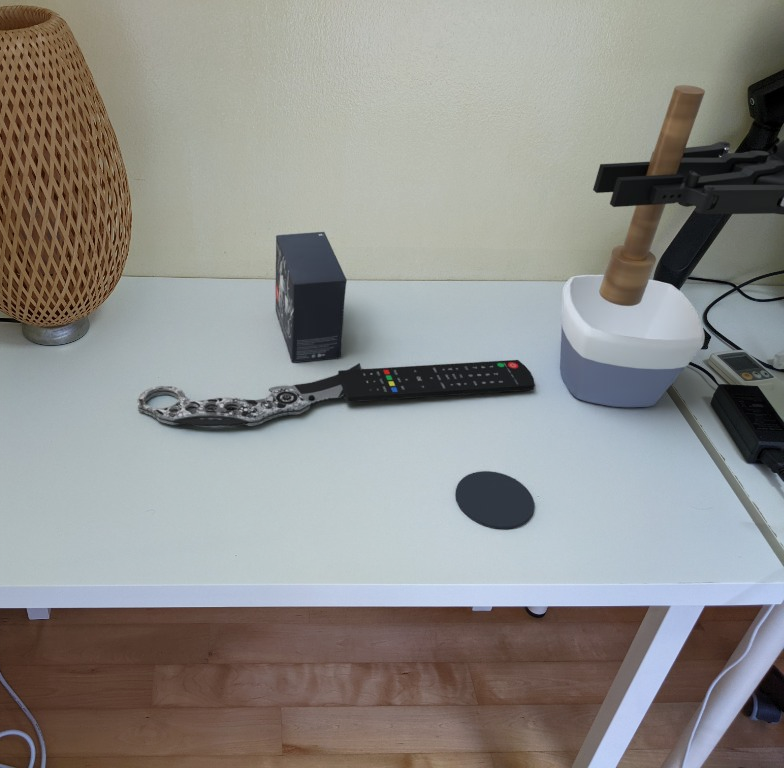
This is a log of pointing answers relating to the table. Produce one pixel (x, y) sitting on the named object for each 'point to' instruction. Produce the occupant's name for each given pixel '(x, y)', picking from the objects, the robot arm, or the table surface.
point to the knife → (241, 404)
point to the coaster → (494, 500)
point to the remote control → (435, 380)
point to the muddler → (634, 257)
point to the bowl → (625, 342)
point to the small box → (309, 296)
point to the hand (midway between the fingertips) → (607, 185)
